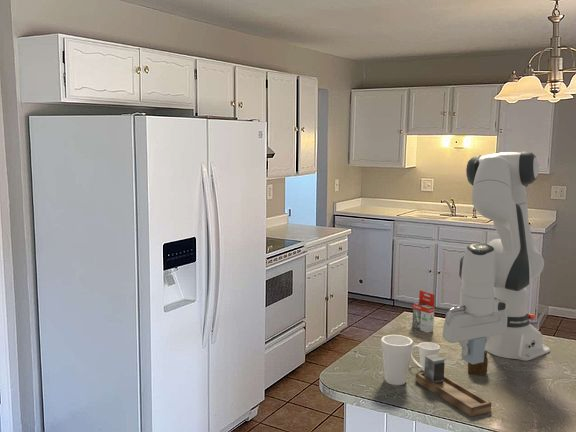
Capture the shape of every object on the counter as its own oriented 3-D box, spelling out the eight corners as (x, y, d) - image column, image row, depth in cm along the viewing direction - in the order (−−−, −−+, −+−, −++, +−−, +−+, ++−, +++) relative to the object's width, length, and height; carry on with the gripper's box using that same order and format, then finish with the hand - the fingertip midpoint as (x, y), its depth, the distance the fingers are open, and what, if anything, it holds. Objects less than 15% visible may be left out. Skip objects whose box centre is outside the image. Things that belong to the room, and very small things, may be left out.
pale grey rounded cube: (483, 361, 156) (485, 337, 155) (472, 364, 154) (474, 339, 153) (471, 355, 160) (473, 332, 159) (460, 358, 158) (462, 334, 157)
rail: (415, 381, 175) (417, 354, 174) (434, 377, 178) (435, 351, 177) (471, 416, 154) (473, 386, 153) (490, 411, 157) (492, 382, 156)
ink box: (427, 333, 217) (429, 296, 215) (411, 327, 224) (413, 291, 222) (433, 331, 220) (435, 294, 217) (417, 325, 226) (419, 289, 224)
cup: (432, 376, 179) (433, 351, 178) (404, 367, 186) (405, 343, 185) (443, 369, 184) (444, 345, 183) (415, 360, 191) (416, 337, 190)
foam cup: (405, 389, 169) (407, 348, 168) (375, 383, 174) (377, 342, 172) (414, 377, 178) (416, 338, 176) (385, 371, 182) (387, 332, 180)
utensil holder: (486, 376, 179) (489, 340, 177) (466, 373, 181) (468, 337, 180) (487, 369, 185) (489, 334, 183) (467, 366, 187) (469, 331, 185)
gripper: (455, 312, 147) (452, 363, 149) (512, 302, 156) (509, 351, 158) (438, 305, 153) (436, 354, 155) (495, 296, 162) (492, 343, 164)
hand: (473, 352), depth 157 cm, fingers closed on pale grey rounded cube, 4 cm apart
